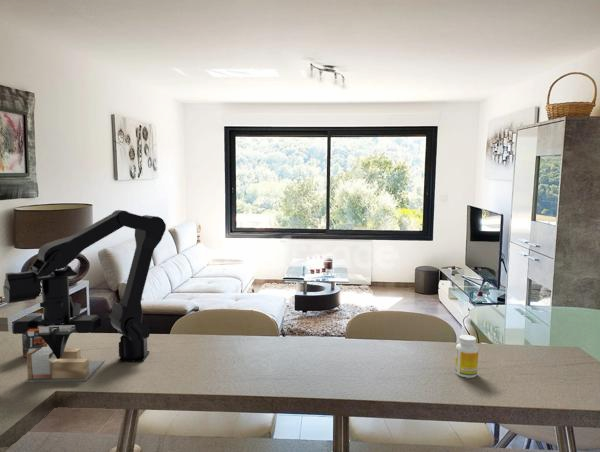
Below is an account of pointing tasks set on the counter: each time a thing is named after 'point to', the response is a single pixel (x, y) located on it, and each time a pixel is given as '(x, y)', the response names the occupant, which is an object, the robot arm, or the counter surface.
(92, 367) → the mat
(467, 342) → the supplement bottle
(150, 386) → the counter surface
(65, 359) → the block
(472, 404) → the counter surface
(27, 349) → the supplement bottle
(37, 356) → the rough concrete cube
